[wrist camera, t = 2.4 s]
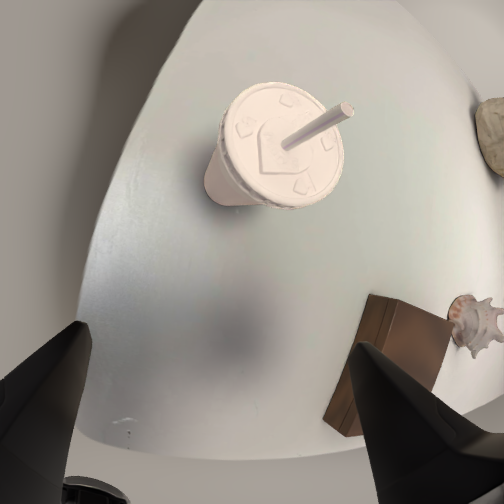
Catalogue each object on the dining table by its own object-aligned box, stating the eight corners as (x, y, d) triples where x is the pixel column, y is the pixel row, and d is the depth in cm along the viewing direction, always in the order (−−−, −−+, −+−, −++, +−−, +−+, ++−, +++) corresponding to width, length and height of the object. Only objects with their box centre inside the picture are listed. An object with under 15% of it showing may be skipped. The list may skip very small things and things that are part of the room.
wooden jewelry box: (395, 414, 30) (416, 425, 27) (322, 419, 25) (345, 437, 22) (430, 318, 32) (454, 323, 28) (369, 293, 27) (398, 299, 23)
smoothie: (167, 183, 19) (223, 74, 6) (224, 127, 21) (329, 12, 8) (231, 241, 21) (372, 234, 8) (281, 182, 23) (426, 127, 10)
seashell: (463, 354, 38) (504, 364, 29) (437, 352, 33) (488, 366, 25) (477, 299, 39) (518, 304, 30) (453, 286, 34) (506, 291, 26)
